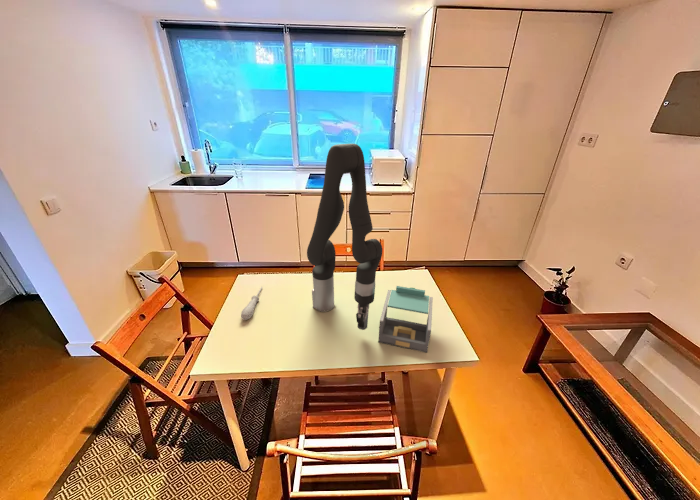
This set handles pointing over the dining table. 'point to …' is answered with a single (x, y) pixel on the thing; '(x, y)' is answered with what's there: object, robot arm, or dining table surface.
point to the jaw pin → (365, 321)
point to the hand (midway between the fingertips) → (362, 323)
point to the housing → (405, 330)
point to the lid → (409, 299)
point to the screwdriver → (250, 307)
